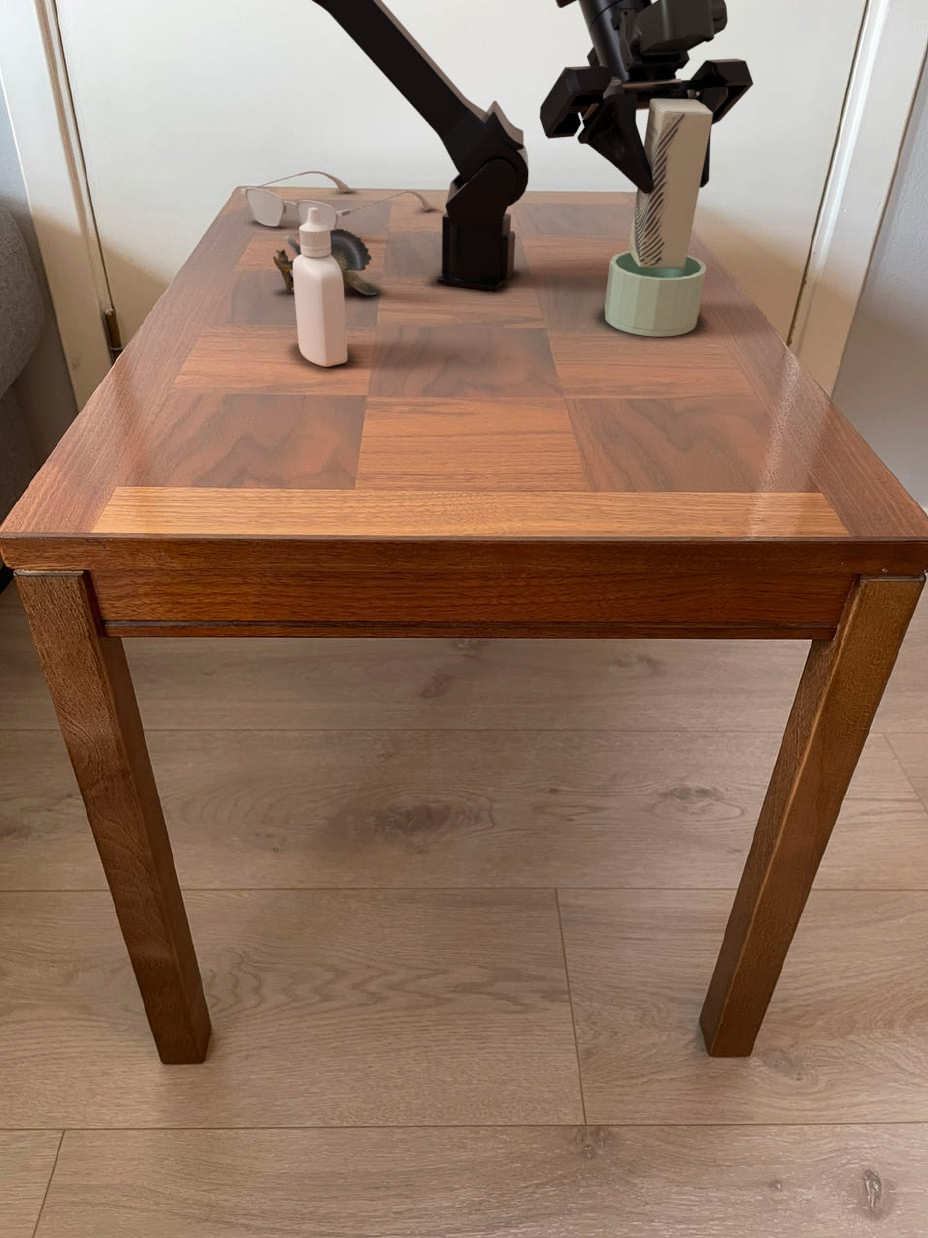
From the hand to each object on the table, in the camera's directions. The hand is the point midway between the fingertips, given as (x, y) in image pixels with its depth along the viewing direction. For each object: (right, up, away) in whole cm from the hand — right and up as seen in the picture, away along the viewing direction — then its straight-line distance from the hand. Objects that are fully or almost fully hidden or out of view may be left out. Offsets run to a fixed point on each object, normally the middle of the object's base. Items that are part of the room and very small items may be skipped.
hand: (677, 187), depth 84 cm
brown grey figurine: (-32, -5, +12) cm, 34 cm away
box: (-1, -5, +5) cm, 7 cm away
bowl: (-1, -9, +8) cm, 12 cm away
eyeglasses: (-33, +12, +34) cm, 49 cm away
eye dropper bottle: (-30, -15, 0) cm, 34 cm away
